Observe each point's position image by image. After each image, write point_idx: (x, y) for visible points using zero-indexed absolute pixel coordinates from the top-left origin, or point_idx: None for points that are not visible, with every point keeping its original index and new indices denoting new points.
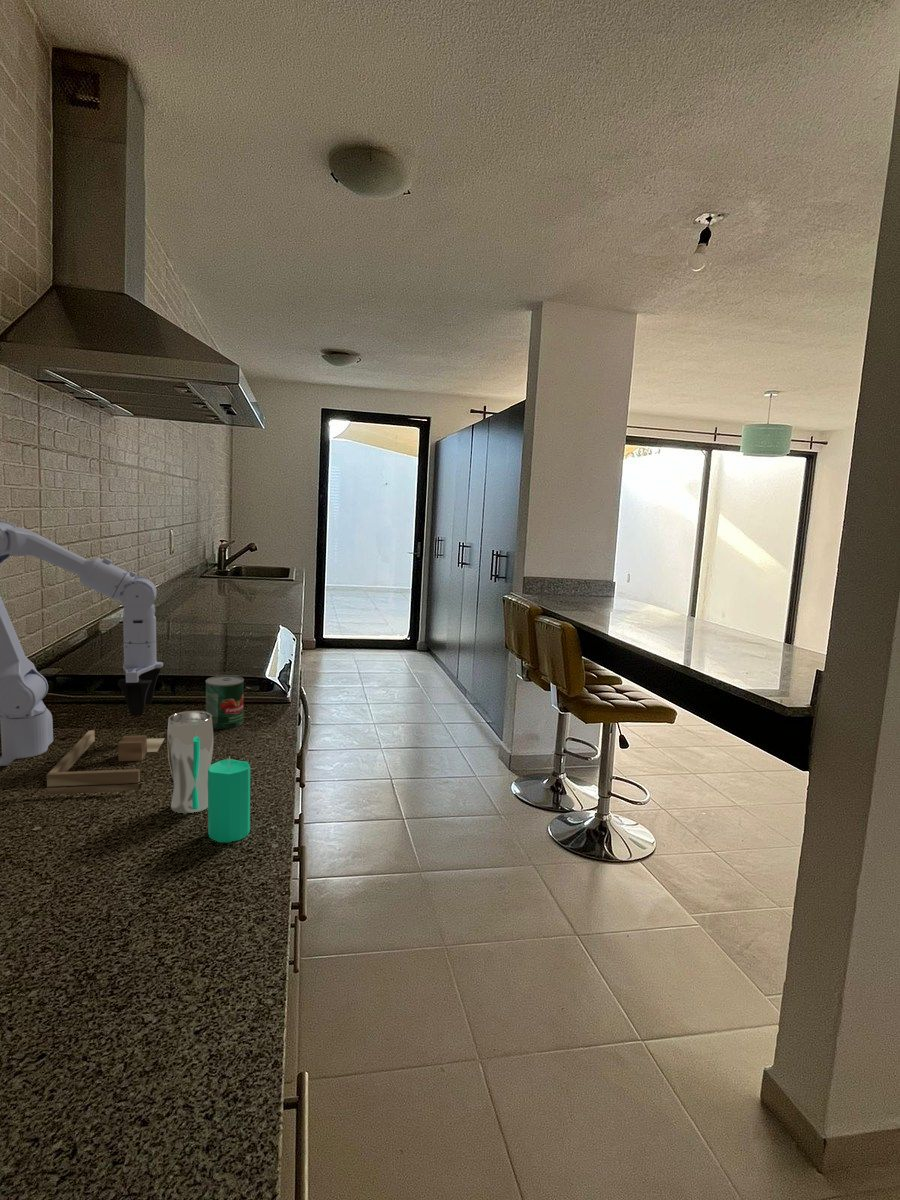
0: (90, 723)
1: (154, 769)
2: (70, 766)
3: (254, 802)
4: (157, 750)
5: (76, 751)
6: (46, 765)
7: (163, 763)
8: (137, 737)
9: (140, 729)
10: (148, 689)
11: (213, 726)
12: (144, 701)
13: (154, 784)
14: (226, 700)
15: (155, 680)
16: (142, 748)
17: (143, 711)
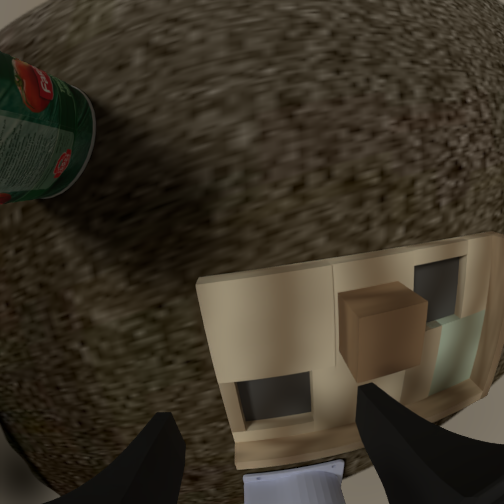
0: (100, 458)
1: (401, 237)
2: (409, 407)
3: (493, 25)
4: (323, 267)
5: None
6: None
7: (361, 226)
8: (379, 337)
9: (94, 376)
10: (153, 476)
11: (77, 151)
12: (420, 416)
13: (472, 207)
14: (19, 80)
15: (124, 499)
16: (408, 294)
17: (377, 390)
